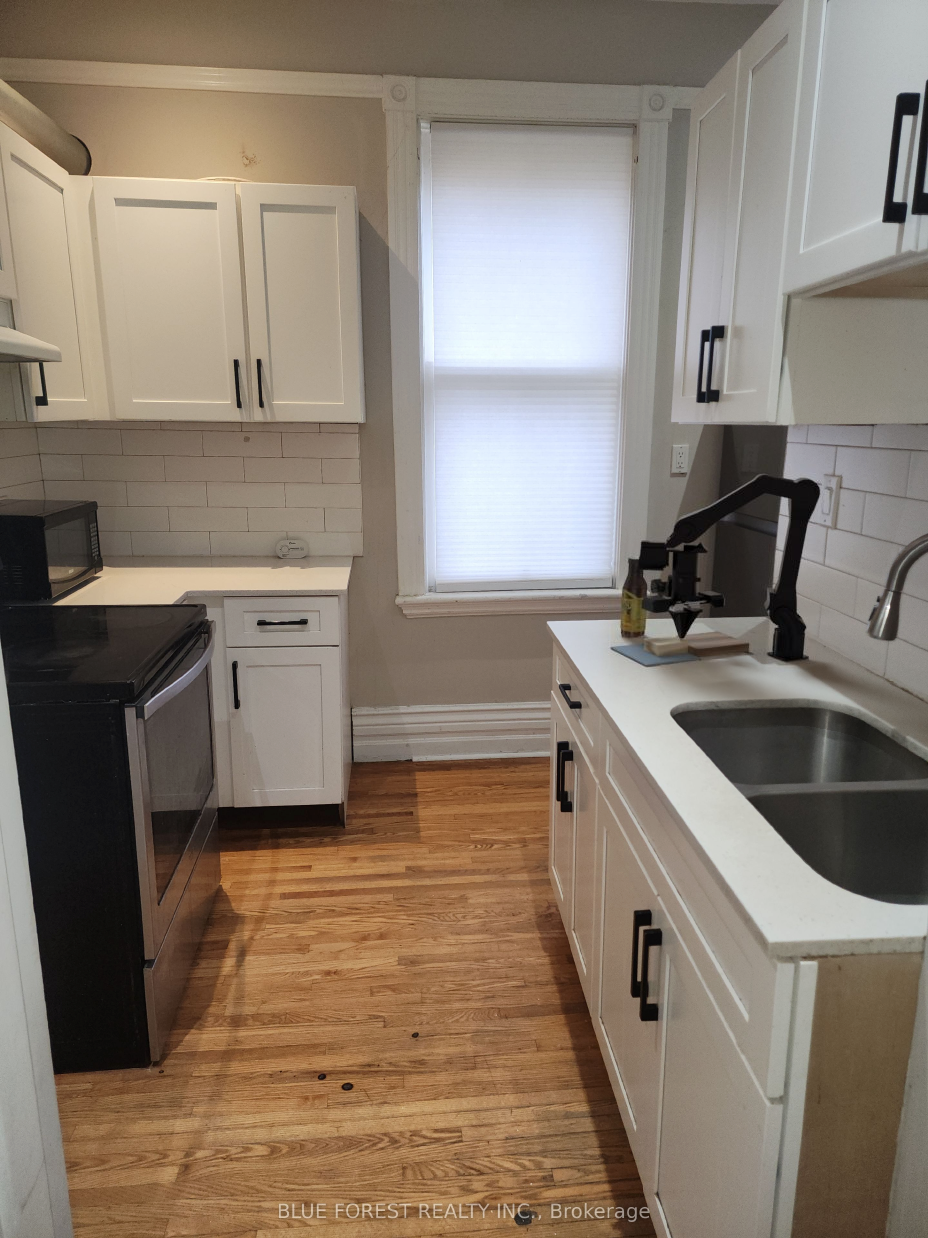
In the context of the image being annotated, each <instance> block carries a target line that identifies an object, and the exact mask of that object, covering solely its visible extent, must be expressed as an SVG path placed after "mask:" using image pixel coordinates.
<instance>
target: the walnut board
mask: <svg viewBox="0 0 928 1238" xmlns="http://www.w3.org/2000/svg"><path fill="white" fill-rule="evenodd" d="M675 636H676V637H678V635H675ZM678 638H679V637H678ZM680 639H681V638H680ZM682 639H683V640H685V641H688V642H689V644H688V653H690V654H692V655H695V656H697V657H699V658H705V657H714V656H720V655H721V656H723V655H730V654H741V653H748V652H750V642H747V641H745V640H742V639H739V638H737V637H733V636H731V635H728V634H725V633H723V632H721V631H719V630H718V631H711V632H709V631H708V632H700V633H698V632H697V633H691V634H686V636H685V638H682Z"/></svg>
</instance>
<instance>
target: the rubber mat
mask: <svg viewBox="0 0 928 1238" xmlns="http://www.w3.org/2000/svg"><path fill="white" fill-rule="evenodd" d="M612 649H613V651H614V650H615V651H614V652H616V651H617V652H616V653H618V652H619V653H618V654H620V653H621V654H620V655H622V656H624V657H626V658H628V659H630V660H632V661H634V662H636V663H638V664H640V665H642V666H644V667H646V666H647V667H655V666H654V665H656V666H662V665H661V664H664V665H670V664H679V663H681V664H682V663H689V662H696V661H695V660H698V661H701V660H702V657H697V656H695V655H692V654H690V653H679V654H671V655H662V656H656V655H654V654H652V653H650V652H648V651H646V650H644V642H643V643H635V644H634V643H633V644H626V645H615V646H610V650H612ZM688 661H689V662H688Z"/></svg>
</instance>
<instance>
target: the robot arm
mask: <svg viewBox="0 0 928 1238" xmlns="http://www.w3.org/2000/svg"><path fill="white" fill-rule="evenodd" d="M764 494H767V495H772V496H777V497H780V498H785V499H787V507H788V510H787V511H788V524H787V528H786V534H785V538H784V544H783V550H782V555H781V561H780V566H779V571H778V572H779V573H778V577H777V582H776V583H775V585H774V587H773V588H771V587H767V591H766V592H767V597H766V600H765V602H764V603H763V604H764V608H765V610H766V611H767V615H768V617H769V619H770V621H771V622H772V623H773V624H774V625H775V626H777V627H774V631H773V634H772V649H771V650H772V651H767V652H766V655H768V656H769V657H773V658H774V659H778V660H781V661H783V662H793V661H800V660H808V659H809V658H810V656H809V655H806V654H804V652H805V651H804V650H805V640H806V638H805V637H806V629H807V625H806V623H805V621H804V619H803V617H802V616H801V615H800V614H799V613H798V598H797V597H798V596H797V582H798V577H799V571H800V567H801V562H802V561H801V560H802V555H803V550H804V546H805V541H806V534H807V529H808V524H809V522H810V520H811V518H812V515H814V514H813V513H814V512H815V510H816V507H817V504H818V501H819V499H820V497H821V496H820V495H821V488H820V486H819V484H818V483H817V482H816V481H814V480H812V479H811V478H808V477H799V478H796V479H794V480H793V479H788V478H784V477H779V476H778V477H777V476H772V475H769V474H767V473H760V474H757V475H756V476H755V477H754V478H753V479H752V480H750V481H748V482H746V483H745V484H743V485H742V486H740V487H738V488H737V489H735V490H733V491H731V492H730V493H728V494H726V495H725V496H723V497H721V498H720V499H719V500H717V501H715V502H713V503H712V504H710V505H708V506H705V507H703V508H701V509H697V510H695V511H692V512H690V513H687V514H684V515H681V516H680V517H679V518H678V519H677V520H676V521H675V523H674V526H673V532H672V533H671V534H670V535H669V536H667V538H666V540H665V541H654V540H652V541H650V540H641V541H640V548H639V549H640V550H639V555H638V556H639V570H644V571H655V572H664V571H665V569H666V568H667V567H670V556H671V555H670V554H671V553H672V559H671V560H672V562H671V574H668V575H667V581H662V579H661V578H654V579H651V580H650V592H651V593H652V594H657V595H647V596H646V597H644V598H643V600H642V606H641V608H642V609H645V610H647V611H648V612H649V613H652V614H660V613H668V614H669V615H670V617H671V619H672V621H673V623H674V627H675V631H676V633H677V636H678V637H679V638H681V639H682V638H685V636H686V635H688V632H689V630H690V629H691V627H692V625H693V623H694V622H695V620H696V619H697V617H699V615H700V614H701V613H704V610H703V609H702V608H700V607H701V605H704V604H709V605H710V606H711V607H712V608H714V609H715V608H724V607H725V605H726V604H725V603H726V602H725V601H726V598H725V597H724V594H722V593H718V592H715V591H712V590H707V591H698V583H701V582H702V577H700V576H698V575H699V574H698V573H699V561H700V560H699V557H700V554H708V548H707V547H706V545H704V544H703V542H702V541H701V540H700V541H698V543H697V544H692V543H694V542H695V541H697V540H698V539H700V537H701V536H703V535H704V534H705V533H706V532H707V531H708V530H709V529H710V528H711V527H713V526H714V525H715V524H716V523H717V522H719V521H720V520H722V519H723V518H725V517H727V516H729V515H730V514H732V513H734V512H736V511H737V510H739V509H740V508H742V507H743V506H746V505H747V504H750V502H753V501H754V500H755V499H757V498H759V497H760V496H762V495H764ZM682 544H683V547H679V546H681V545H682ZM697 591H698V592H697Z"/></svg>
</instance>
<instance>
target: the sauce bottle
mask: <svg viewBox="0 0 928 1238" xmlns="http://www.w3.org/2000/svg"><path fill="white" fill-rule="evenodd" d="M627 565H628V569H627V575H626V578H625V580H624V582H623V586H622V587H621V601H620V602H621V603H620V604H621V606H620V622H619V623H620V625H619V628H620V635H622V636H624V637H626V638H640V637H641V636H642V637H644V636H645V634H646V627H647V625H646V624H647V610H645V609H642V608H641V606H642V600H643V598H644V597H646V596H648V583H647V581H646V579H645V577H644V574H645V573H644V571H645V570H639V555H638V556H637V555H633V556H632V555H631V556H629V557H628V559H627ZM642 637H641V638H642Z"/></svg>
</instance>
